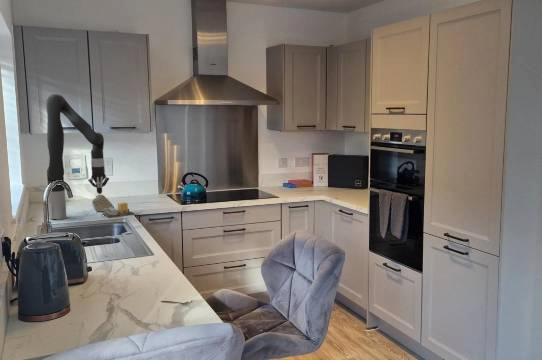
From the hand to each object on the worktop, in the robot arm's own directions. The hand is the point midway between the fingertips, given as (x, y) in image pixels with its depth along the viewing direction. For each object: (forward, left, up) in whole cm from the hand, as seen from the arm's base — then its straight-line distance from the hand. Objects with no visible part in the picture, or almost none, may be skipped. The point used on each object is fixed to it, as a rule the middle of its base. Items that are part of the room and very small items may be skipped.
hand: (99, 193), depth 308 cm
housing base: (+11, 0, -15) cm, 18 cm away
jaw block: (+14, 0, -14) cm, 20 cm away
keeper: (+7, 0, -13) cm, 15 cm away
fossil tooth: (+8, +17, -15) cm, 24 cm away
